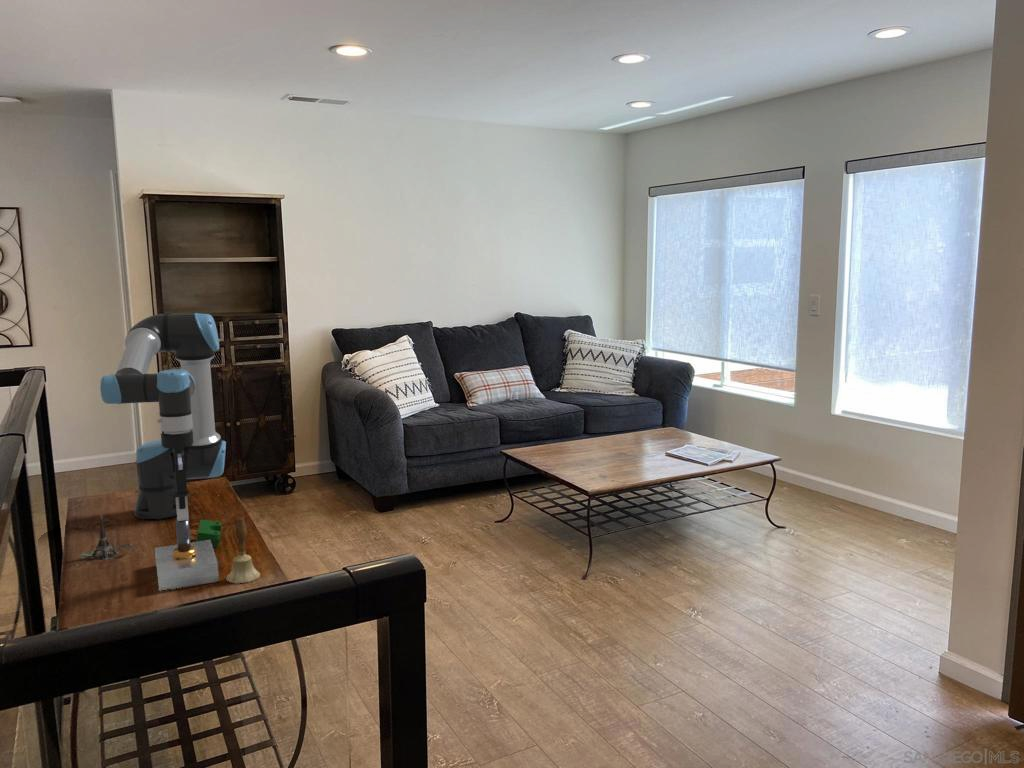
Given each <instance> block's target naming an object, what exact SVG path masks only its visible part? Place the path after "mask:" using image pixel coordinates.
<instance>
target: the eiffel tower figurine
mask: <svg viewBox="0 0 1024 768" xmlns="http://www.w3.org/2000/svg"><path fill="white" fill-rule="evenodd" d="M99 522H100V523H99V530H100V531H99V538H98V539H99V540H98V543H97V546H95V549H94V550H90V551H86V552H84V553H81V554H80V555H79V556H78V558H79V559H84V558H85V559H86V558H89V559H94V560H104V561H107V560H108V559H110V558H113V557H114V556H116V555H118V554H120V552H119V551H118V550H116V549H117V548H124V547H126V548H130V546H131V547H133V544H132V543H129V544H123V545H118V546H117V545H116V546H113V545H112V543H110V541H109V540H108V537H107V535H106V529H105V525H104V519H103V514H100V515H99ZM113 547H115V548H113ZM109 549H110V550H111V551H110V550H109ZM102 555H103V556H102ZM107 555H108V556H107ZM74 563H75V567H77V566H80V564H79V563H78V562H74Z"/></svg>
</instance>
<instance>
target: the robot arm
mask: <svg viewBox="0 0 1024 768" xmlns="http://www.w3.org/2000/svg"><path fill="white" fill-rule="evenodd" d="M124 343H125V349H124V351H123V354H122V356H121V360H120V362H119V363H118V367H117V369H116V371H115V374H113V373H112V374H109V375H107V374H106V375H103V376H102V378H101V379H100V386H99V388H100V389H99V390H100V397H101V400H102V401H103V402H104V403H105V404H107V405H108V404H109V405H110V404H111V405H112V404H113V405H116V404H118V405H123V404H124V405H126V404H139V403H158V409H159V418H160V419H157V423H158V424H160V431H161V433H160V439H157V440H151V441H148V442H146V443H143V444H141V445H140V446H138V448H137V449H136V456H135V457H136V458H135V459H136V460H135V463H136V470H137V471H136V472H137V483H138V485H137V486H138V494H137V498H136V500H135V505H134V507H133V508H134V509H133V510H134V511H133V513H134V517H135V516H136V517H138V518H137V519H139V518H141V519H140V520H144V519H157V520H164V519H163V518H165V519H168V518H167V517H170V518H173V516H174V517H176V520H177V521H183V520H189V521H190V517H189V516H190V515H189V503H188V501H189V499H188V494H189V493H190V489H188V486H187V482H188V480H194V479H195V480H196V479H210V478H218V477H221V476H222V475H223V473H224V470H225V462H226V461H225V460H226V449H227V446H226V445H227V441H225V440H222V439H221V435H220V434H219V433H218V431H216V424H215V410H214V396H213V395H214V394H213V386H212V385H213V384H212V383H213V382H212V371H211V370H212V369H211V361H212V359H214V358H215V356H216V355H215V352H218V351H219V350H220V341H219V334H218V328H217V325H216V321H215V319H214V317H213V316H212V315H211V314H210V313H199V312H194V313H193V312H191V313H188V312H187V313H158V314H154V315H151V316H148V317H145V318H143V319H142V320H140V321H138V322H137V323H136V324H134V325H133V326H132V327H131V328H130V330H128V332H127V334H126V337H125V340H124ZM159 353H173V354H174V359H175V360H177V361H178V362H179V364H180V368H178V369H174V368H173V369H165V370H161V371H159V372H157V373H149V371H150V368H151V364H152V362H153V359H154V356H156V355H157V354H159ZM176 515H177V516H176ZM136 517H135V518H136Z"/></svg>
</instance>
